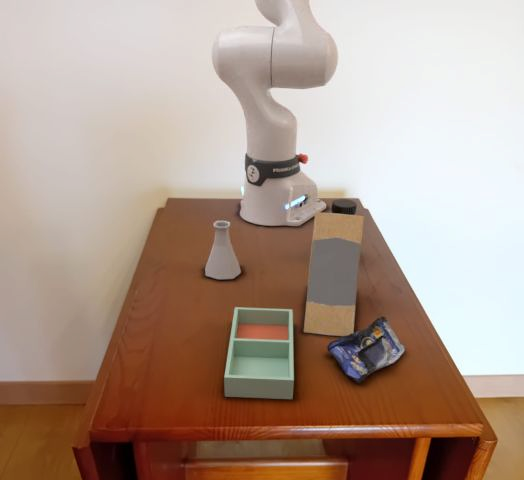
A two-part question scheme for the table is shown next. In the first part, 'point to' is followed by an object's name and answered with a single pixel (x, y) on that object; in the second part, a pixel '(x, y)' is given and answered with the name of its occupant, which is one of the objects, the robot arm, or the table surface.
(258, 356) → the two-compartment tray
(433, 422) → the table surface
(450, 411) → the table surface
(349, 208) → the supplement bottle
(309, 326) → the sandwich container
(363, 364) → the snack package
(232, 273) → the flask
